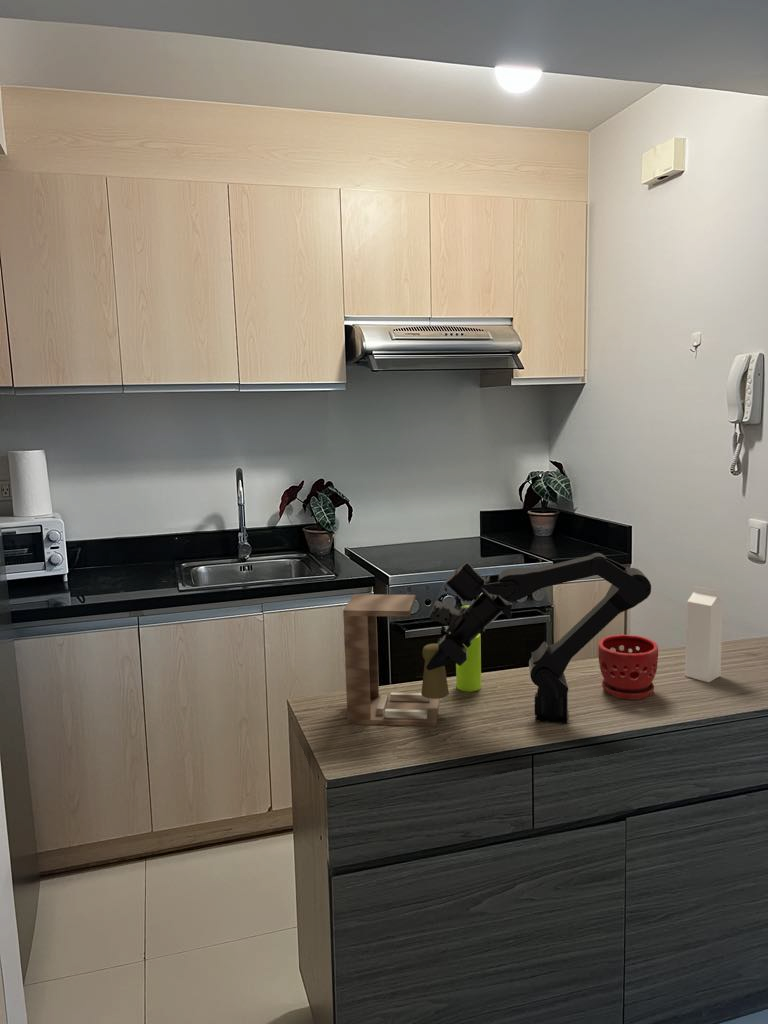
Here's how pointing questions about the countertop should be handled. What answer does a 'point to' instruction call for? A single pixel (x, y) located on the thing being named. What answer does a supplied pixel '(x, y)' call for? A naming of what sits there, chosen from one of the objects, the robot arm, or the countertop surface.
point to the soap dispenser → (470, 667)
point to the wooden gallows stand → (364, 666)
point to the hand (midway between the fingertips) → (428, 664)
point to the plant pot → (628, 666)
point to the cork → (433, 676)
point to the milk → (704, 634)
